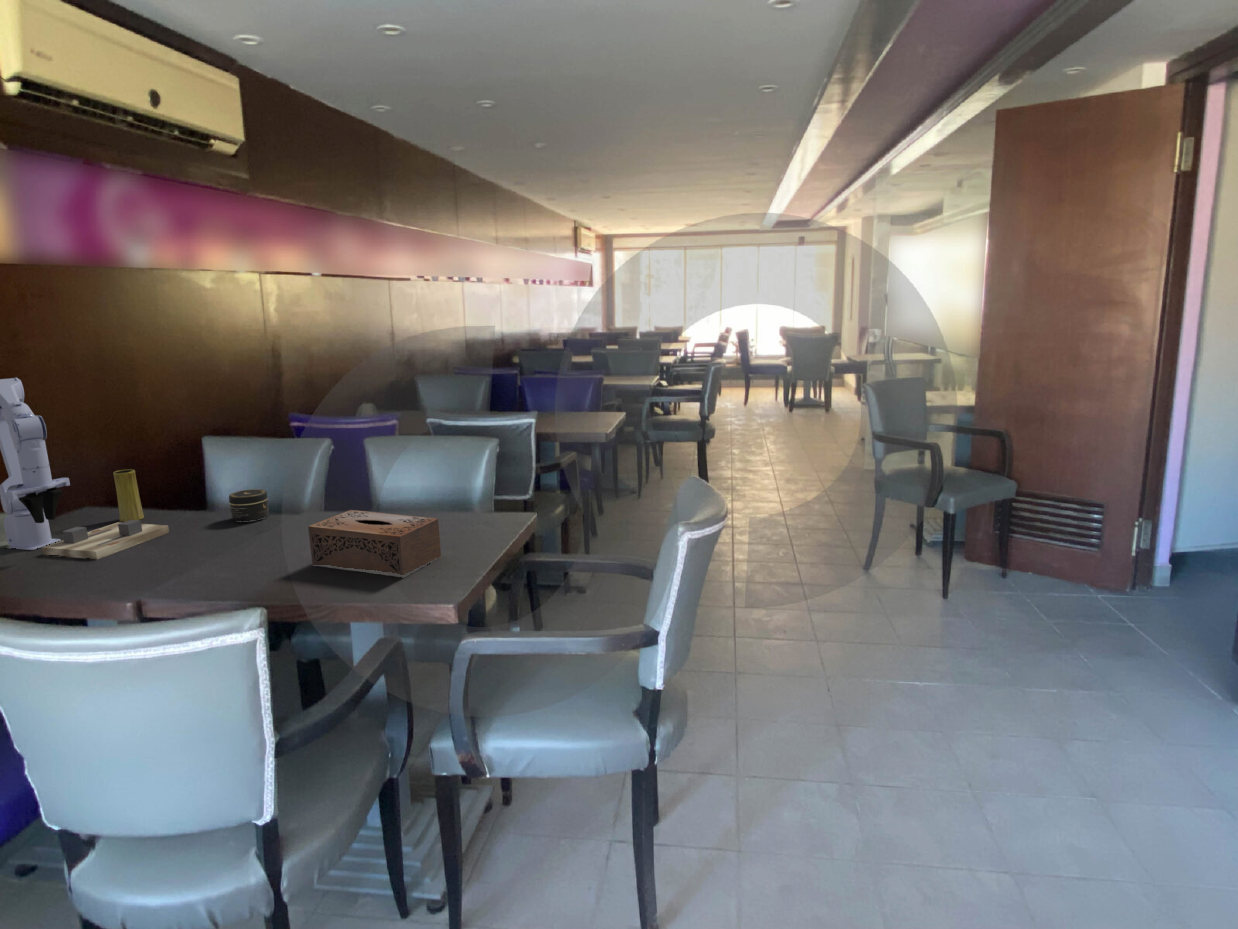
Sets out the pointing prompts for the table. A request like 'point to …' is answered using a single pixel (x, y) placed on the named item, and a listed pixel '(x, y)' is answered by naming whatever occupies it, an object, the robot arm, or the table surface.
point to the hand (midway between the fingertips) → (45, 520)
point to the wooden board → (104, 542)
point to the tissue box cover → (375, 541)
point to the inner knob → (75, 535)
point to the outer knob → (130, 527)
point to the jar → (249, 505)
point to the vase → (128, 495)
